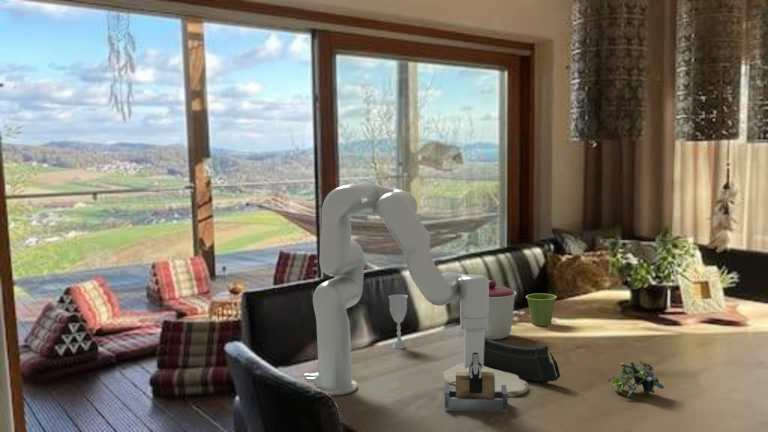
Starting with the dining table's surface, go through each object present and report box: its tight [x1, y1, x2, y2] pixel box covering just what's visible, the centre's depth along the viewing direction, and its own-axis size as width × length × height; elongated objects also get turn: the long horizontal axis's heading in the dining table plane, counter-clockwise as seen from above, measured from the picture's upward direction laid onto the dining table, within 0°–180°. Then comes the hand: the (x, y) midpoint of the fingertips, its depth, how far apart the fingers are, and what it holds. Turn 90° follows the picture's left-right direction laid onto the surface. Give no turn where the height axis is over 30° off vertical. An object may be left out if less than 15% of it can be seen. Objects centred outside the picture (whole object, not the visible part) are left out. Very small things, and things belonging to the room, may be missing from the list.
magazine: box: [484, 337, 561, 386], centre depth 198 cm, size 17×3×30 cm
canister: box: [485, 279, 517, 341], centre depth 242 cm, size 18×18×21 cm
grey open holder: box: [444, 383, 509, 413], centre depth 173 cm, size 16×7×5 cm, turn 83°
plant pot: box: [525, 293, 557, 327], centre depth 259 cm, size 12×12×11 cm
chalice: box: [387, 293, 409, 350], centre depth 232 cm, size 7×7×18 cm
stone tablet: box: [442, 361, 529, 398], centre depth 192 cm, size 16×30×2 cm, turn 36°
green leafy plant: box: [607, 360, 665, 399], centre depth 178 cm, size 11×11×12 cm
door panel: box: [455, 372, 495, 398], centre depth 173 cm, size 10×3×8 cm, turn 84°
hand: (475, 386), depth 172 cm, fingers open, 9 cm apart
